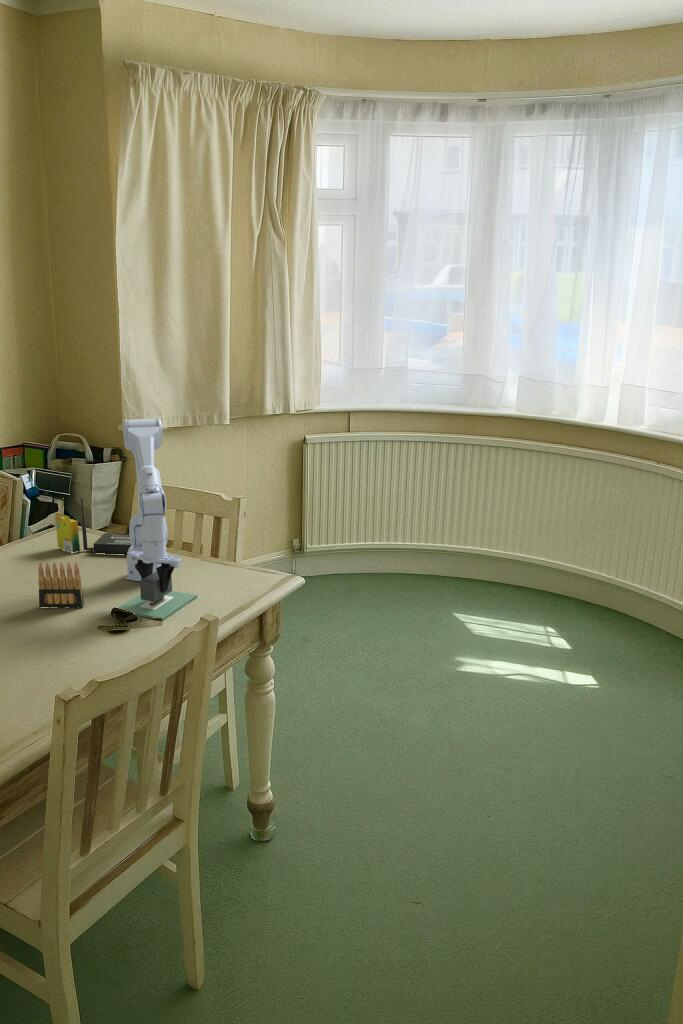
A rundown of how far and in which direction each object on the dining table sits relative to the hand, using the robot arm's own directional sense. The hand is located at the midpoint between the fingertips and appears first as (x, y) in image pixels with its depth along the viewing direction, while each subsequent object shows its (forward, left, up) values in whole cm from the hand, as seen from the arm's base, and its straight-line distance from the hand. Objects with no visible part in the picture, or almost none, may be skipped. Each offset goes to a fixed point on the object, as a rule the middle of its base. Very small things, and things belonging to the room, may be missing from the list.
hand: (156, 589), depth 216 cm
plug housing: (0, 0, -1) cm, 1 cm away
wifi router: (-34, +31, -5) cm, 46 cm away
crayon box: (-47, +24, -4) cm, 53 cm away
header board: (0, 0, -4) cm, 4 cm away
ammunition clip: (-21, -11, -4) cm, 24 cm away
